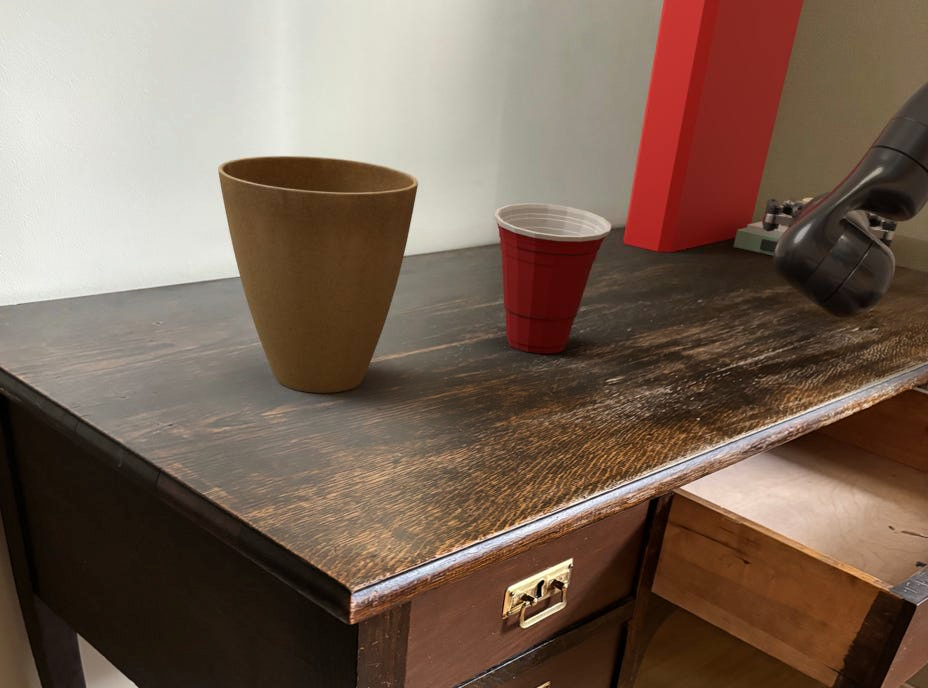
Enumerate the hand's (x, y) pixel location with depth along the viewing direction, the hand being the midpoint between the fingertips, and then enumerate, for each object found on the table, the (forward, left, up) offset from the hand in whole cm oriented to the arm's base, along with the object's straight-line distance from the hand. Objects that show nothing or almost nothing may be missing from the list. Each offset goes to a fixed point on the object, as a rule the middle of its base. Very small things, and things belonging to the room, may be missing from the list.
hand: (827, 213), depth 115 cm
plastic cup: (+10, +45, -10) cm, 47 cm away
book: (+28, -23, -10) cm, 37 cm away
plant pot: (+16, +69, -10) cm, 71 cm away
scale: (+14, -30, -10) cm, 35 cm away
